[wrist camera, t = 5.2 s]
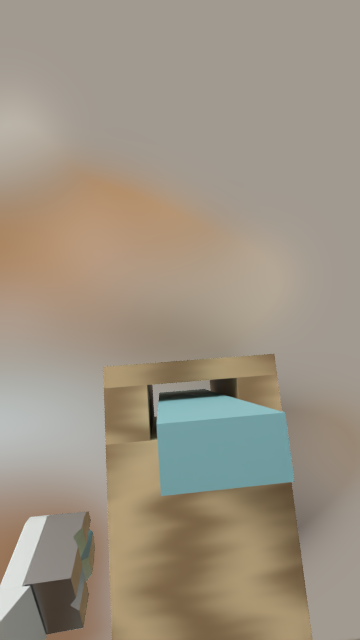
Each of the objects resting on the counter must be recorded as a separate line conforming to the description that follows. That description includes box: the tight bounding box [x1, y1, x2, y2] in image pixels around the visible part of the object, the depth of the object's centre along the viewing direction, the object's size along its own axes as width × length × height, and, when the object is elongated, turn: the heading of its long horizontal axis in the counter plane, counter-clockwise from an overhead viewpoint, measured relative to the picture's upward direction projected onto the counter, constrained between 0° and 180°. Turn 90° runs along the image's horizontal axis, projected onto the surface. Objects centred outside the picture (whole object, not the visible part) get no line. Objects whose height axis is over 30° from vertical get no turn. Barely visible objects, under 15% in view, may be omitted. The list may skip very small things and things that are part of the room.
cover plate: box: [157, 389, 294, 496], centre depth 18 cm, size 4×18×2 cm, turn 4°
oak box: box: [103, 354, 312, 640], centre depth 20 cm, size 10×10×30 cm
